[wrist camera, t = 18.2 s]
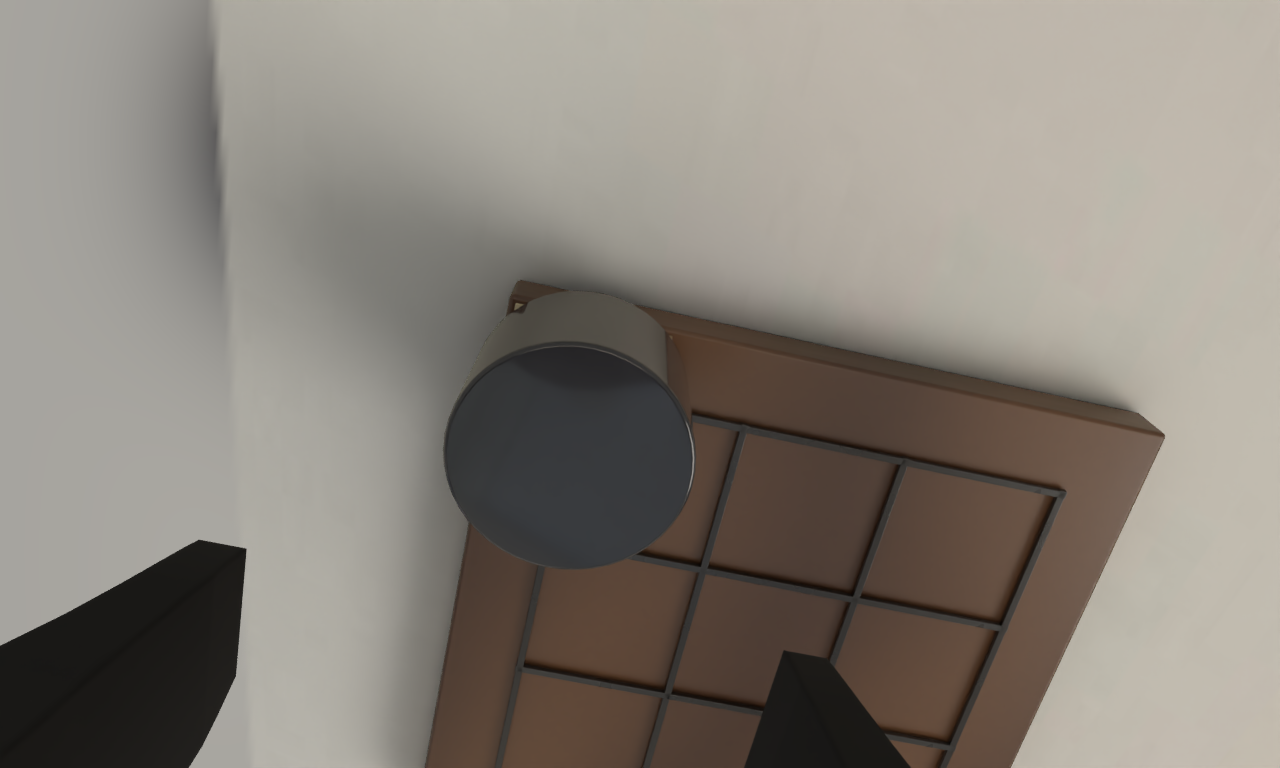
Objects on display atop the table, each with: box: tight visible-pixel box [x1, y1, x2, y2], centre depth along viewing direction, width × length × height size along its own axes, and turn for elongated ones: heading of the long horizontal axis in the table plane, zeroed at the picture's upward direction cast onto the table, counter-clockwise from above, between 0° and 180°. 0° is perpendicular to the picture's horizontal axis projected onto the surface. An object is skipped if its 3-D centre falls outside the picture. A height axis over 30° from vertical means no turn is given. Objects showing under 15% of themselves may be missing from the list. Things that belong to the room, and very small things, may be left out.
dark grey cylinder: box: [443, 291, 696, 570], centre depth 18 cm, size 4×4×3 cm
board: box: [425, 280, 1165, 768], centre depth 22 cm, size 14×14×1 cm
